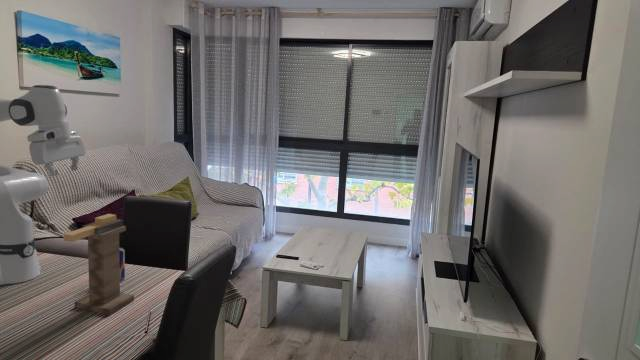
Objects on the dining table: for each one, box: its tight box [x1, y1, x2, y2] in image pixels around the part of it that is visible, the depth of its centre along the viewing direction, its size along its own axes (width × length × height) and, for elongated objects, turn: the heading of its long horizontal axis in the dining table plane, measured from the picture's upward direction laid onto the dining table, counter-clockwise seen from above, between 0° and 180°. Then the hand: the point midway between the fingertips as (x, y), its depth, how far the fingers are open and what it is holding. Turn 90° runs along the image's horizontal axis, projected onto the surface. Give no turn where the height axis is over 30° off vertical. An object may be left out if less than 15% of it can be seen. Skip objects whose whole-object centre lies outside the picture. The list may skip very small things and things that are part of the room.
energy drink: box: [119, 247, 126, 282], centre depth 156 cm, size 5×5×12 cm
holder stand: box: [74, 218, 135, 316], centre depth 136 cm, size 14×11×28 cm
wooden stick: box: [63, 213, 117, 243], centre depth 129 cm, size 3×18×4 cm, turn 166°
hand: (64, 173), depth 141 cm, fingers open, 8 cm apart
